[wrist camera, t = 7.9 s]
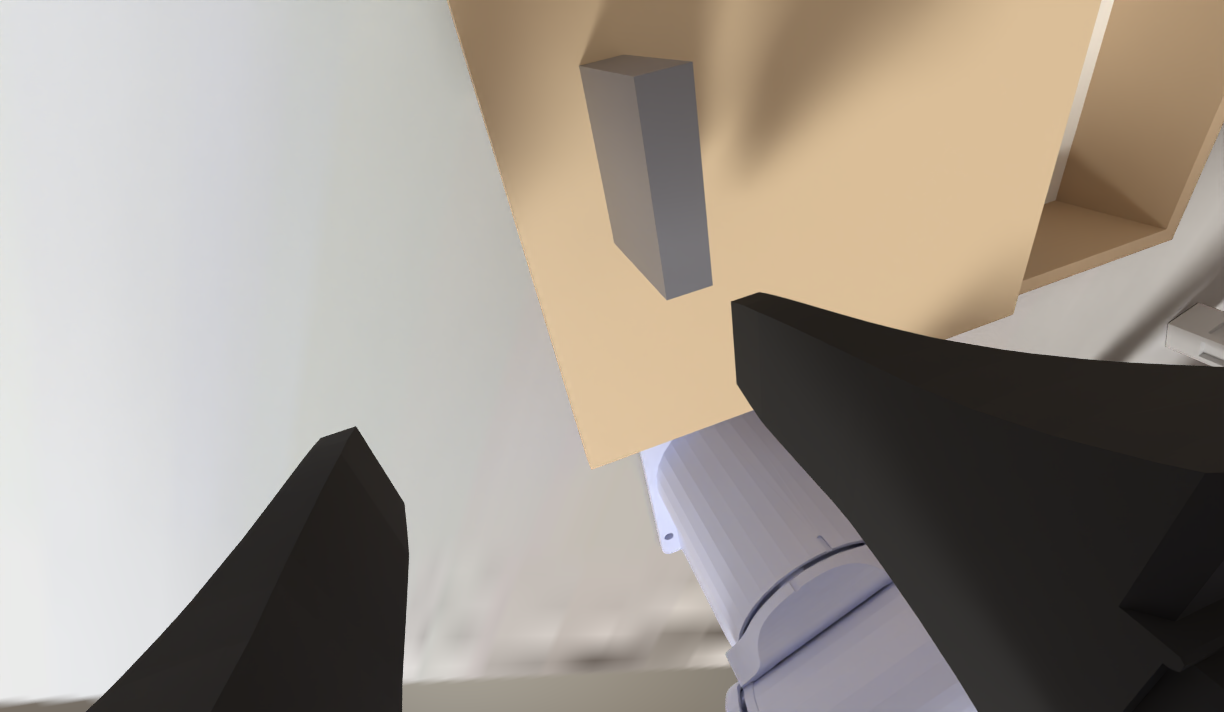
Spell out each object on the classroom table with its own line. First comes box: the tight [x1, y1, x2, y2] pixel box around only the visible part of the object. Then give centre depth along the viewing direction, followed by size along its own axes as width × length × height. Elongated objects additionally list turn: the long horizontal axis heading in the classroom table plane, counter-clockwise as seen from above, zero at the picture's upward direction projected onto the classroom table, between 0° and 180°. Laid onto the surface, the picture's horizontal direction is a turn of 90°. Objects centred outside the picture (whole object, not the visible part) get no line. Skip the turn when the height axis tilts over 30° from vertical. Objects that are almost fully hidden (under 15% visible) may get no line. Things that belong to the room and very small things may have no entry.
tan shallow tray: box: [1019, 0, 1224, 295], centre depth 17 cm, size 18×16×5 cm
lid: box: [447, 0, 1102, 470], centre depth 12 cm, size 18×16×4 cm
